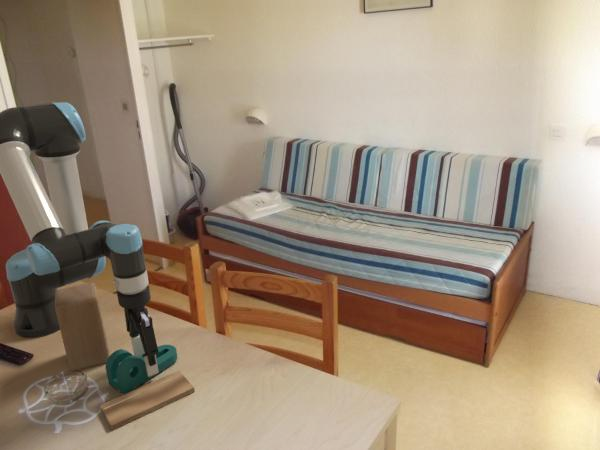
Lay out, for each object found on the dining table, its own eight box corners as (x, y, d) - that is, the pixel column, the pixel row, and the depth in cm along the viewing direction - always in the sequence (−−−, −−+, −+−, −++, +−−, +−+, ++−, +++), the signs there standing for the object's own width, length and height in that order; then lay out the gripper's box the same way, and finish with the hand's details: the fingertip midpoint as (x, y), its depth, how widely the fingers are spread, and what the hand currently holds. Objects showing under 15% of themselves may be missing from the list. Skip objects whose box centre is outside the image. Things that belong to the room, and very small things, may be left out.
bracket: (125, 394, 124) (119, 367, 121) (109, 384, 128) (103, 358, 125) (182, 357, 138) (178, 332, 135) (166, 348, 141) (162, 324, 138)
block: (70, 373, 133) (54, 306, 126) (69, 352, 142) (54, 289, 135) (110, 362, 137) (97, 297, 130) (107, 343, 146) (94, 280, 138)
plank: (100, 409, 121) (99, 404, 120) (179, 374, 132) (179, 370, 131) (112, 430, 114) (111, 425, 114) (194, 391, 125) (194, 387, 125)
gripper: (103, 277, 130) (118, 353, 138) (132, 309, 114) (147, 392, 123) (132, 268, 134) (145, 342, 142) (164, 298, 118) (177, 379, 127)
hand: (146, 365), depth 132 cm, fingers closed on bracket, 8 cm apart
